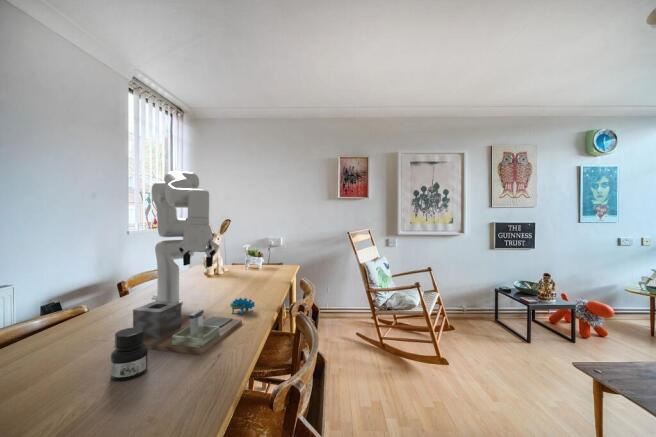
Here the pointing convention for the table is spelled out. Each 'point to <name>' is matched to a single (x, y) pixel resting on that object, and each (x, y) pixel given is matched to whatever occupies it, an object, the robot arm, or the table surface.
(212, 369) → the table surface
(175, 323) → the workbench
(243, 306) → the blue lumpy piece
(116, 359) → the ink bottle
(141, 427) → the table surface
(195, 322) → the grey capped block
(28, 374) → the table surface
